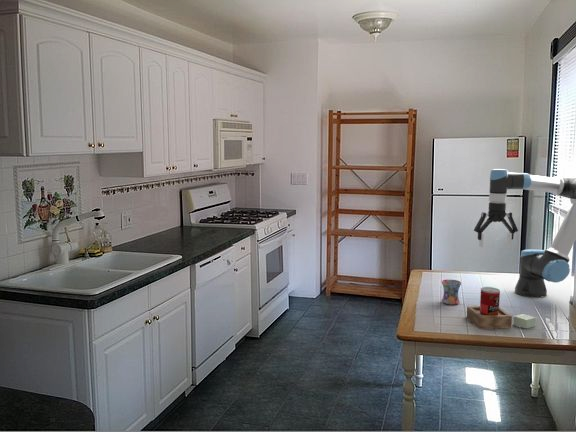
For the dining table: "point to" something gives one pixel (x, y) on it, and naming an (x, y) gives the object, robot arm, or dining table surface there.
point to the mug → (450, 291)
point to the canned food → (489, 301)
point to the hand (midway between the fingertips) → (495, 246)
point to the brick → (524, 321)
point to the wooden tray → (489, 318)
